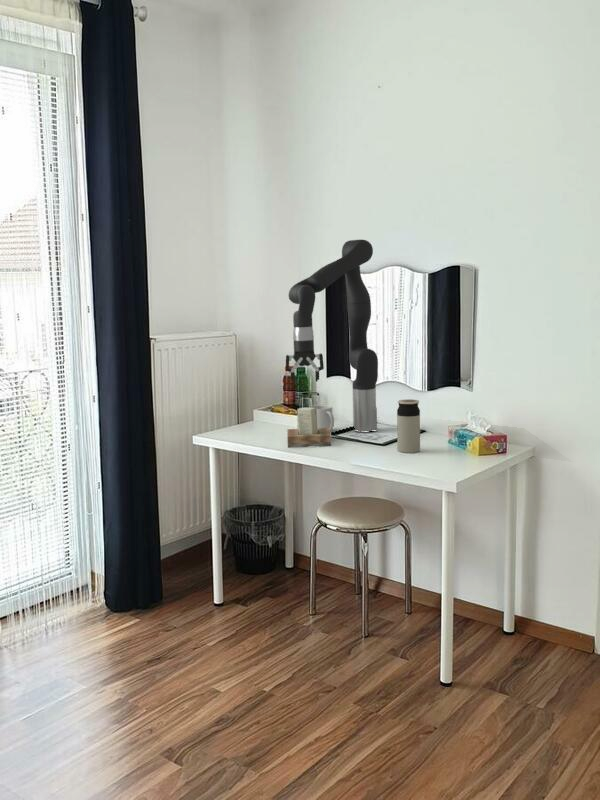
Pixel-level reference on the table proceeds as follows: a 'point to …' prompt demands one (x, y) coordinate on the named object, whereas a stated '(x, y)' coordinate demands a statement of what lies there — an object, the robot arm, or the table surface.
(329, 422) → the mug
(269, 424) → the table surface
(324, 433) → the socket board
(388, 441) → the table surface
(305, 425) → the skincare box
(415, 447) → the travel mug
